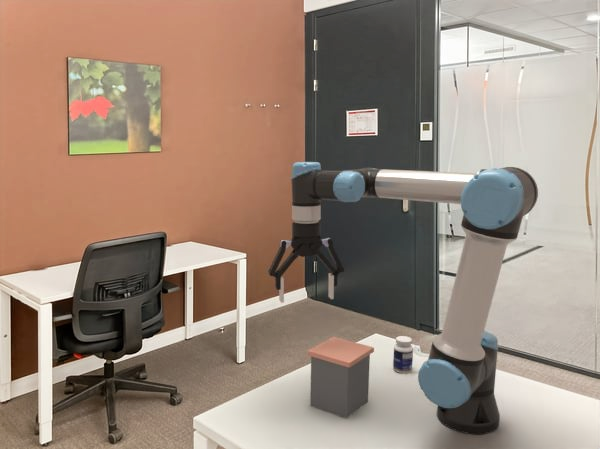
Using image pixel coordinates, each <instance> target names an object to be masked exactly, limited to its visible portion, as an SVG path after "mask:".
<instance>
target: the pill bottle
mask: <svg viewBox="0 0 600 449" xmlns="http://www.w3.org/2000/svg"><path fill="white" fill-rule="evenodd" d="M395 343H396V344H394V346H393V361H392V362H393V364H392V369H393V371H394V372H397V373H399V374H408V373H411V372H412V370H413V362H414V361H413V357H414V347H413V345H412V343H413V339H412V337H409V336H406V335H399V336H397V337H395Z"/></svg>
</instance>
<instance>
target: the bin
mask: <svg viewBox="0 0 600 449" xmlns="http://www.w3.org/2000/svg"><path fill="white" fill-rule="evenodd" d="M370 355H371V354H370ZM370 355H368V356H367V357H365V358H363V359H362V360H360V361H359V362H357V363H356V364H354V365H353V366H351V367H345V366H342V365H339V364H335V363H332V362H329V361H325V360H322V359H319V358H315V357H312V356H310V357H311V358H310V400H309V402H310V403H309V404H310V406H311V407H314V408H316V409H320V410H322V411H325V412H328V413H331V414H333V415H336V416H339V417H342V418H345V419H348V418H349V417H350V416H351V415H353V414H354V413H356V412H357V411H358V410H359V409H360V408H362V407H363V406H365V404H367V403H368V402H369V387H370V386H369V385H370V358H371V356H370Z"/></svg>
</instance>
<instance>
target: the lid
mask: <svg viewBox="0 0 600 449" xmlns="http://www.w3.org/2000/svg"><path fill="white" fill-rule="evenodd" d="M306 352H307V353H306V355H307V356H309V357H311V356H312V357H315V358H319V359H322V360H325V361H329V362H332V363H335V364H339V365H342V366H345V367H351V366H353V365H354V364H356V363H357V362H359V361H360V360H362V359H363V358H365V357H367V356H368V355H371V354H373V353H375V347H373V346H369V345H366V344H363V343H358V342H355V341H350V340H347V339H344V338H340V337H337V336H332V337H330V338H328V339H326V340H324V341H323V342H320V343H318V344H317V345H315V346H313V347H312V348H310V349H308V350H307V351H306Z"/></svg>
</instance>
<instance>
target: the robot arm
mask: <svg viewBox="0 0 600 449" xmlns="http://www.w3.org/2000/svg"><path fill="white" fill-rule="evenodd" d="M321 167H322V166H321V163H320V162H317V161H316V162H315V161H297V162H294V163H293V165H292V168H291V178H290V180H291V195H292V196H291V199H292V201H291V220H293V221H292V223H291V232H292V233H291V240H284V239H280V242H279V247H278V250H277V253H276V255H275V257H274V258H273V261H272V263H271V265H270V266H269V269H268V275H269V277H274V281H275V283H274V284H275V287H274V288H275V289H276V290H277V291H278V293H279V294H278V295H279V299H278V301H280V303H281V304H282V303H283V304H284V303H285V291H284V290H285V286H284V285H285V282H284V281H285V280H284V279H285V278H284V277H283V275H284V274H285V273H286V271H287V270H288V269H289V267H291V265H292V264H293V263H294V261H295V260H297V259H298V258H299V257H302V258H303V257H314V256H315V255H316V256H317V258H319V260H320V261H321V262H322V264H324V265H325V267H327V269H328V270H329V271H330V273H328V292H327V293H328V295H327V296H328V298H329V299H330V300H334V299H335V298H334V297H335V295H334V294H335V292H334V291H335V287H337V286H338V275H339V274H340V273H344V272H345V268H344V265H343V264H342V262H341V260H340V258H339V256H338V254H337V252H336V250H335V248H334V244H333V242H334V241H333V239H332V238H330V237H326V238H323V239H322V237H321V234H322V233H321V232H322V231H321V230H322V229H321V227H322V226H321V222H320V220H321V219H322V216H321V213H322V212H321V202H322V201H335V202H342V203H356V202H358V201H360V200H361V198H372V199H373V198H375V199H376V198H377V199H379V198H380V199H392V200H402V201H416V202H417V201H419V202H426V203H427V202H428V203H429V202H430V203H440V204H441V203H442V204H453V205H460V207H461V210H462V212H463V213H462V214H463V215H462V218H461V219H462V220H461V223H460V227H461V229H462V230H463V232H464V234H465V238H464V242H463V246H462V250H461V254H460V258H459V262H458V266H457V270H456V274H455V278H454V282H453V286H452V291H451V293H450V294H451V295H450V299H449V302H448V307H447V311H446V314H445V318H444V323H443V327H442V331H441V333H439V334H437V335H435V336H434V337H433V339H432V342H431V346H430V351H429V354H428V355H429V356H428V358H427V360H426V361H424V362H423V363H422V365H421V367H420V368H419V370H418V372H417V373H418V374H417V379H418V385H419V388H420V389H421V391H422V392H423V393H424V396H425V397H426V398H427V399H428V400H429V401H430V402H431V403H433V404H435V406H436V407H437V408H436V417H437V419H438V420H439V421H440V423H442V425H444V426H446V427H448V428H449V429H452V430H454V431H458V432H460V433H464V434H471V435H472V434H473V435H484V434H489V433H493V432H494V431H496V430H497V429H498V428H499V426H500V411H499V408H498V407H499V406H498V404H497V400H496V396H495V385H496V375H497V374H496V373H497V372H496V371H497V361H498V360H497V359H498V351H499V342H498V341H499V340H498V338H497V336H495V335H494V334H492V333H491V332H488V331H485V329H486V325H487V322H488V317H489V314H490V309H491V306H492V302H493V299H494V295H495V292H496V287H497V284H498V282H499V281H498V280H499V276H500V273H501V269H502V265H503V262H504V258H505V254H506V252H507V246H508V245H509V244H511V243H512V242H515V241H516V240H517V238H518V236H519V232H520V228H521V225H522V221H523V217H525V216H526V215H528V214H529V213H530V212H531V211H532V210H533V208H534V207H535V206H536V203H537V202H538V197H539V188H538V184H537V182H536V180H535V178H534V177H533V176H532V175H531V174H530V173H529V172H527V171H526V170H524V169H522V168H520V167H514V166H508V167H507V166H506V167H500V168H498V167H494V168H489V169H485V168H484V169H480V170H478V171H477V172H474V173H473V172H457V171H456V172H454V171H453V172H452V171H451V172H450V171H432V170H431V171H430V170H408V169H407V170H406V169H405V170H404V169H387V168H386V169H384V168H383V169H380V168H375V167H374V168H373V167H363V168H360V169H359V168H358V169H346V170H324V169H322V168H321ZM323 245H324V247H326V248H327V251H328V253H329V255H330V257H331V258H332V260H333V263H334V265H335V266H336V267H334V265H333V264H332V263H331V262H330V261H329V260H328V259H327V257H326V256H325V255H324V254H323V253H322V252H321V251H320V248H322V246H323ZM290 246H291V248H292V251H291V252H290V254H289V255H288V256H287V258H286V259H285V260H284V261H283V263H281V261H282V259H283V257H284V255H285V252H286V250H288V249H289V247H290ZM280 263H281V265H280Z"/></svg>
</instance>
